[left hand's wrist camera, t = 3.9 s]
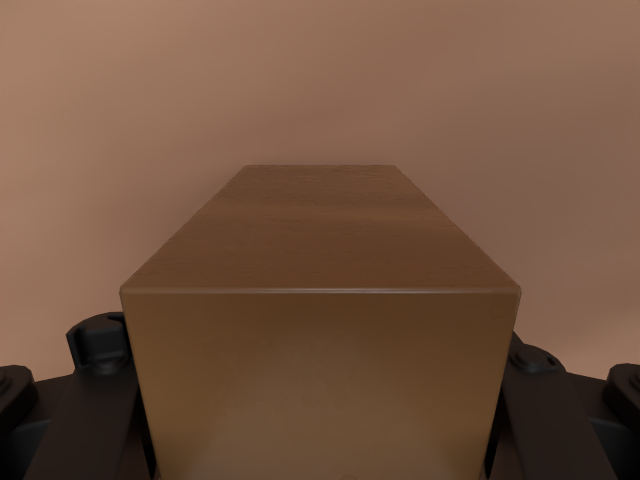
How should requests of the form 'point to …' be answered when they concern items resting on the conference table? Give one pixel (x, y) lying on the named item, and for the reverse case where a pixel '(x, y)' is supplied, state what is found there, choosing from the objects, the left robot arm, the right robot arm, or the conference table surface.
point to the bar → (320, 333)
